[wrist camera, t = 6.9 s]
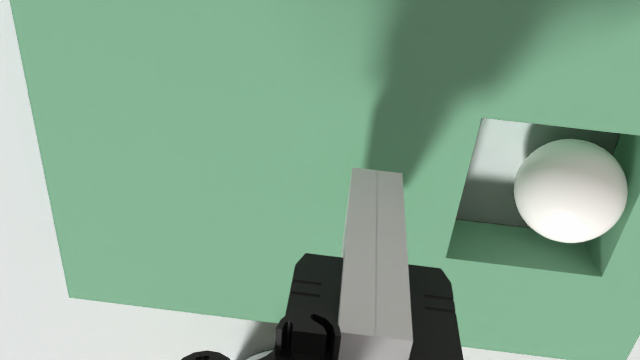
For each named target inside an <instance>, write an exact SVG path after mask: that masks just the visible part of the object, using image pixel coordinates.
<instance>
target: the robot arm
mask: <svg viewBox="0 0 640 360" xmlns="http://www.w3.org/2000/svg"><path fill="white" fill-rule="evenodd" d="M453 299H454V297H453V291H452V285H451V282H450V280H449V279H448V278H447V276H446V275H445V273H444V272H443V270H442V269H441V268H434V267H426V266H418V265H410V264H408V254H407V239H406V223H405V207H404V192H403V176H402V173H396V172H388V171H379V170H371V169H362V168H354V167H352V172H351V180H350V188H349V195H348V203H347V211H346V218H345V226H344V234H343V242H342V253H341V257H334V256H326V255H318V254H310V253H305V254H304V255H303V257H302V258H301V259H300V260H299V261H298V262H297V263H296V264H295V268H294V273H293V278H292V283H291V288H290V294H289V299H288V304H287V309H286V314H285V316H284V317H283V318H282V319H281V320H280V322H279V324H278V326H277V328H276V341H275V349H274V350H273V351H272V352H270V353H269V354H268V355H266V356H264V357H262V358H260V359H258V360H463V355H462V348H461V342H460V336H459V329H458V323H457V316H456V314H455V311H456V310H455V304H454V301H453ZM181 360H230V359H229V358H228V357H226V356H224V355H223V354H221V353H218V352H212V351H201V352H195V353H192V354H190V355H188V356H186V357H184V358H183V359H181Z"/></svg>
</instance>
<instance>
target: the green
mask: <svg viewBox="0 0 640 360" xmlns="http://www.w3.org/2000/svg"><path fill="white" fill-rule="evenodd" d="M10 4H11V9H12V14H13V19H14V24H15V29H16V34H17V39H18V44H19V49H20V54H21V59H22V64H23V69H24V74H25V79H26V84H27V89H28V94H29V99H30V104H31V109H32V114H33V119H34V124H35V129H36V134H37V139H38V144H39V149H40V154H41V159H42V164H43V169H44V174H45V179H46V184H47V189H48V194H49V199H50V204H51V209H52V214H53V219H54V224H55V229H56V234H57V239H58V244H59V249H60V254H61V259H62V264H63V269H64V274H65V279H66V284H67V289H68V294H69V297H70V298H78V299H86V300H94V301H102V302H110V303H118V304H126V305H134V306H142V307H150V308H158V309H166V310H174V311H182V312H190V313H198V314H206V315H214V316H222V317H230V318H238V319H246V320H254V321H262V322H270V323H278V324H279V322H280V320H281V319H282V318H283V317H284V316H285V314H286V309H287V304H288V299H289V294H290V288H291V283H292V278H293V273H294V268H295V264H296V263H297V262H298V261H299V260H300V259H301V258H302V257H303V255H304V254H305V253H310V254H318V255H326V256H334V257H341V253H342V242H343V234H344V226H345V218H346V211H347V203H348V195H349V188H350V180H351V172H352V167H354V168H362V169H371V170H379V171H388V172H396V173H402V176H403V192H404V207H405V223H406V239H407V254H408V264H410V265H418V266H426V267H434V268H441V269H442V270H443V272H444V273H445V275H446V276H447V278H448V279H449V280H450V282H451V285H452V291H453V297H454V299H453V301H454V304H455V310H456V311H455V314H456V316H457V323H458V329H459V336H460V342H461V346H462V347H470V348H478V349H486V350H494V351H502V352H510V353H518V354H526V355H534V356H542V357H550V358H558V359H566V360H626V359H627V357H628V356H629V354H630V352H631V350H632V348H633V346H634V344H635V343H636V341H637V339H638V337H639V335H640V0H10ZM482 118H489V119H498V120H506V121H515V122H524V123H533V124H542V125H551V126H560V127H568V128H577V129H586V130H595V131H604V132H613V133H621V136H620V138H619V141H618V143H617V146H616V148H615V150H614V153H613V155H612V156H613V157H614V158H615V159H616V160H617V162H618V163H619V164H620V166H621V168H622V170H623V171H624V174H625V177H626V180H627V187H628V196H627V202H626V206H625V209H624V211H623V213H622V215H621V217H620V218H619V220H618V221H617V222H616V223H615V225H614V226H613V227H612V228H610V229H609V230H608V231H607V232H606V233H604V234H602V235H600V236H599V237H597V238H594V239H592V240H588V241H585V242H578V243H565V242H558V241H554V240H551V239H548V238H546V237H544V236H542V235H540V234H539V233H537V232H536V231H534V230H533V229H532V228H523V227H515V226H507V225H498V224H490V223H481V222H473V221H464V220H456V216H457V212H458V208H459V204H460V200H461V196H462V193H463V189H464V185H465V181H466V177H467V173H468V169H469V165H470V162H471V158H472V154H473V150H474V146H475V142H476V138H477V134H478V131H479V127H480V123H481V119H482Z"/></svg>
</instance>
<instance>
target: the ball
mask: <svg viewBox="0 0 640 360" xmlns="http://www.w3.org/2000/svg"><path fill="white" fill-rule="evenodd" d="M627 196H628V187H627V180H626V177H625V174H624V171H623V170H622V168H621V166H620V164H619V163H618V162H617V160H616V159H615V158H614V157H613V156H612V155H611V154H610V153H609V152H608V151H606V150H605V149H604V148H602V147H600V146H598V145H596V144H594V143H591V142H588V141H584V140H579V139H562V140H556V141H553V142H550V143H547V144H545V145H543V146H541V147H539V148H538V149H536V150H535V151H534V152H532V153H531V154H530V155H529V156H528V157H527V158H526V159H525V161H524V162H523V163H522V165H521V166H520V168H519V170H518V173H517V175H516V179H515V184H514V197H515V202H516V206H517V208H518V211H519V213H520V215H521V216H522V218H523V219H524V221H525V222H526V223H527V224H528V225H529V226H530V227H531V228H532V229H533V230H534V231H536V232H537V233H539V234H540V235H542V236H544V237H546V238H548V239H551V240H554V241H558V242H565V243H578V242H585V241H588V240H592V239H594V238H597V237H599V236H600V235H602V234H604V233H606V232H607V231H608V230H609V229H610V228H612V227H613V226H614V225H615V223H616V222H617V221H618V220H619V218H620V217H621V215H622V213H623V211H624V209H625V206H626V202H627Z"/></svg>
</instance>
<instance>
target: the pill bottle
mask: <svg viewBox="0 0 640 360" xmlns="http://www.w3.org/2000/svg"><path fill="white" fill-rule="evenodd" d="M272 351H273V350H271V351H266V352H262V353H259V354H256V355H254V356H251V357H249V358H248V359H246V360H258V359H260V358H262V357H264V356H266V355H268V354H269V353H270V352H272Z"/></svg>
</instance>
